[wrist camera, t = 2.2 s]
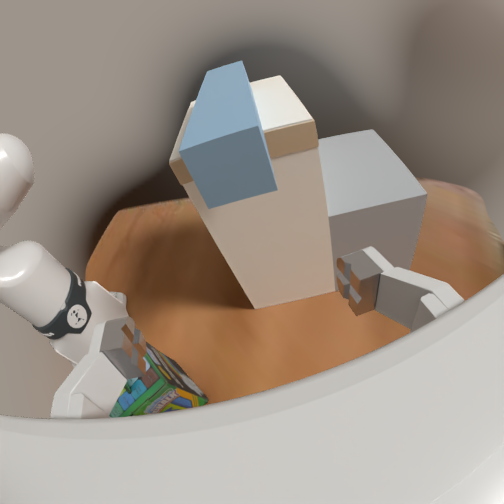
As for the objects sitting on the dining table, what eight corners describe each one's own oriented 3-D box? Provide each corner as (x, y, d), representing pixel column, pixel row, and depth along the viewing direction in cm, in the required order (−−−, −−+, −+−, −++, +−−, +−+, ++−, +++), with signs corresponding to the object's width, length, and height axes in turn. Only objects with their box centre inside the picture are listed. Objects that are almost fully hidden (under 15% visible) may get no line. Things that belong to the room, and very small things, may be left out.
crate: (409, 270, 37) (427, 193, 25) (335, 291, 39) (328, 216, 27) (373, 201, 47) (372, 129, 36) (312, 216, 49) (297, 144, 38)
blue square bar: (277, 190, 15) (258, 125, 12) (208, 209, 15) (178, 151, 12) (252, 90, 28) (241, 60, 25) (218, 100, 28) (207, 71, 26)
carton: (336, 291, 38) (314, 118, 19) (254, 309, 41) (168, 161, 21) (312, 215, 49) (280, 74, 30) (247, 231, 51) (190, 102, 32)
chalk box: (136, 395, 36) (65, 363, 25) (175, 358, 39) (112, 315, 28) (168, 440, 30) (91, 425, 20) (212, 401, 33) (147, 372, 22)
